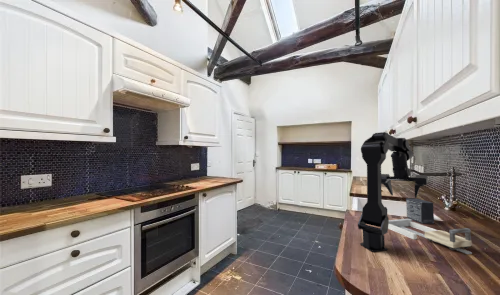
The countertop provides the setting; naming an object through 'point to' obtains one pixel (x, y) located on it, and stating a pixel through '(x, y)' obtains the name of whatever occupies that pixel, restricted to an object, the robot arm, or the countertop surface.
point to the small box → (420, 211)
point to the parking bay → (400, 228)
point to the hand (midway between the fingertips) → (403, 196)
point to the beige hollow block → (451, 238)
